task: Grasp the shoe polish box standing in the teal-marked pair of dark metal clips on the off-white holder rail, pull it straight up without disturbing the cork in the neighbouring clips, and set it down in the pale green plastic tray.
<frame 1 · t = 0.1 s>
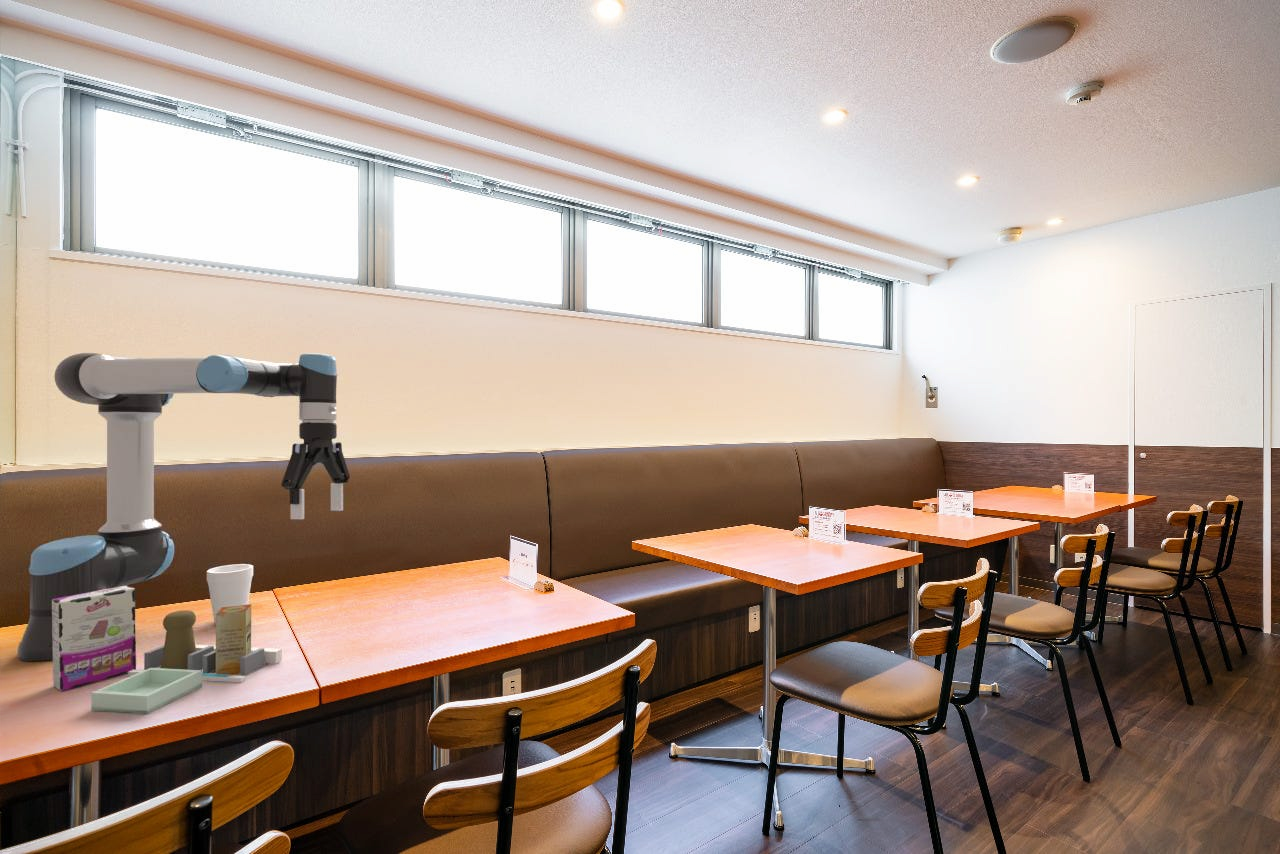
hand: (318, 514, 135), 28 cm above the table, fingers open, 13 cm apart
candy bar box: (94, 679, 113), on the table
foam cup: (230, 621, 147), on the table
cork: (179, 667, 118), resting in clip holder
shoe polish box: (233, 671, 117), resting in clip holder
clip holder: (206, 668, 118), on the table
tray: (149, 698, 105), on the table
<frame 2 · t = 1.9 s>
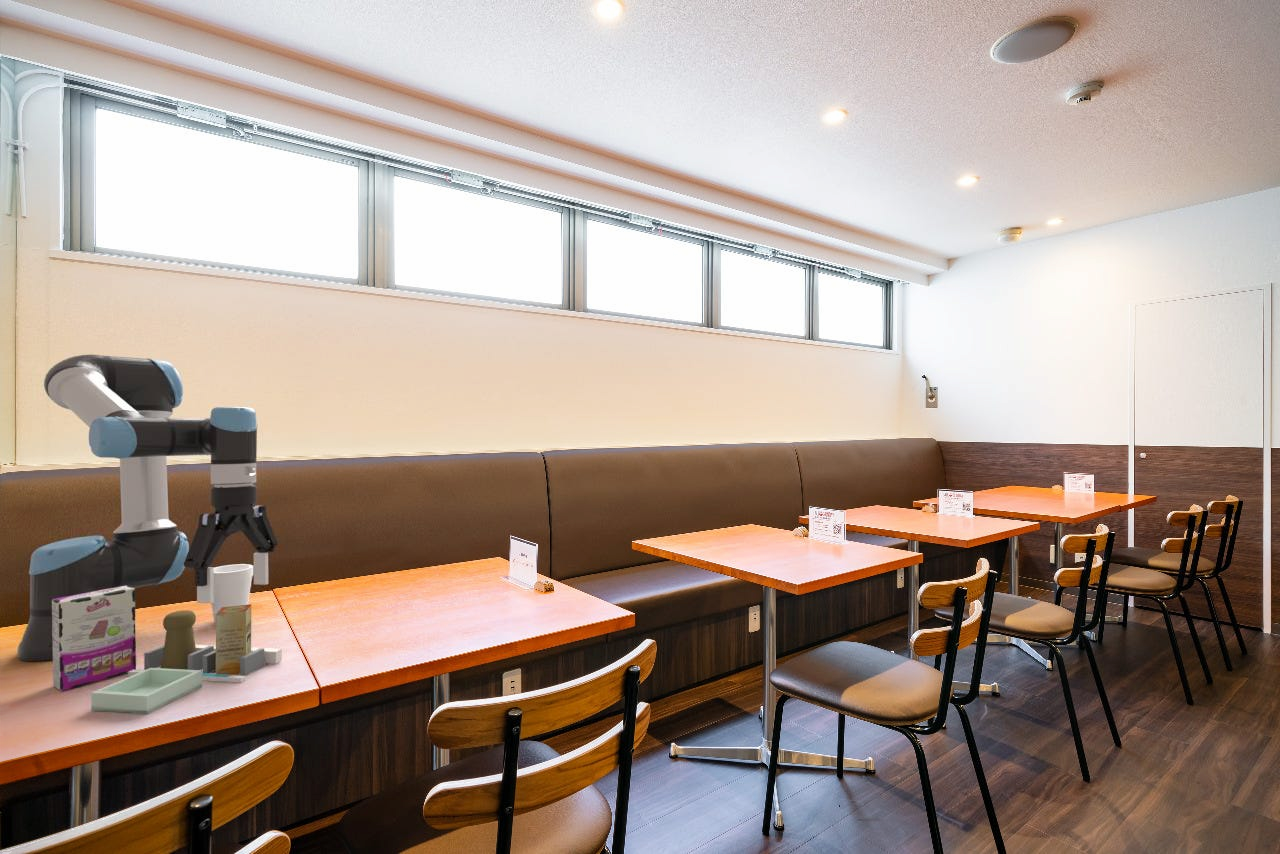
hand: (234, 593, 117), 15 cm above the table, fingers open, 13 cm apart
nothing on the table moved.
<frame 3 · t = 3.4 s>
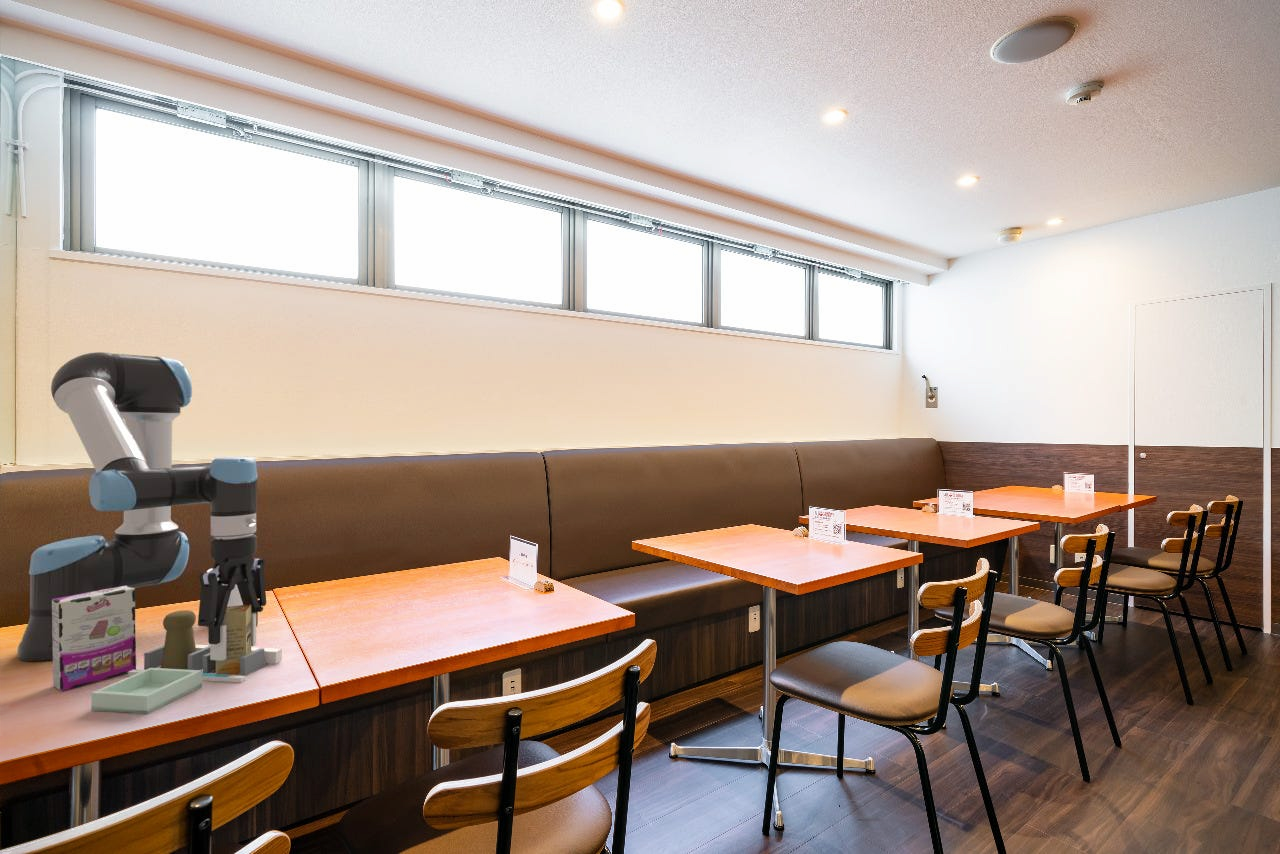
hand: (234, 651, 117), 4 cm above the table, fingers closed on shoe polish box, 7 cm apart
shoe polish box: (234, 670, 117), resting in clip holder, touching gripper
everything else where it was.
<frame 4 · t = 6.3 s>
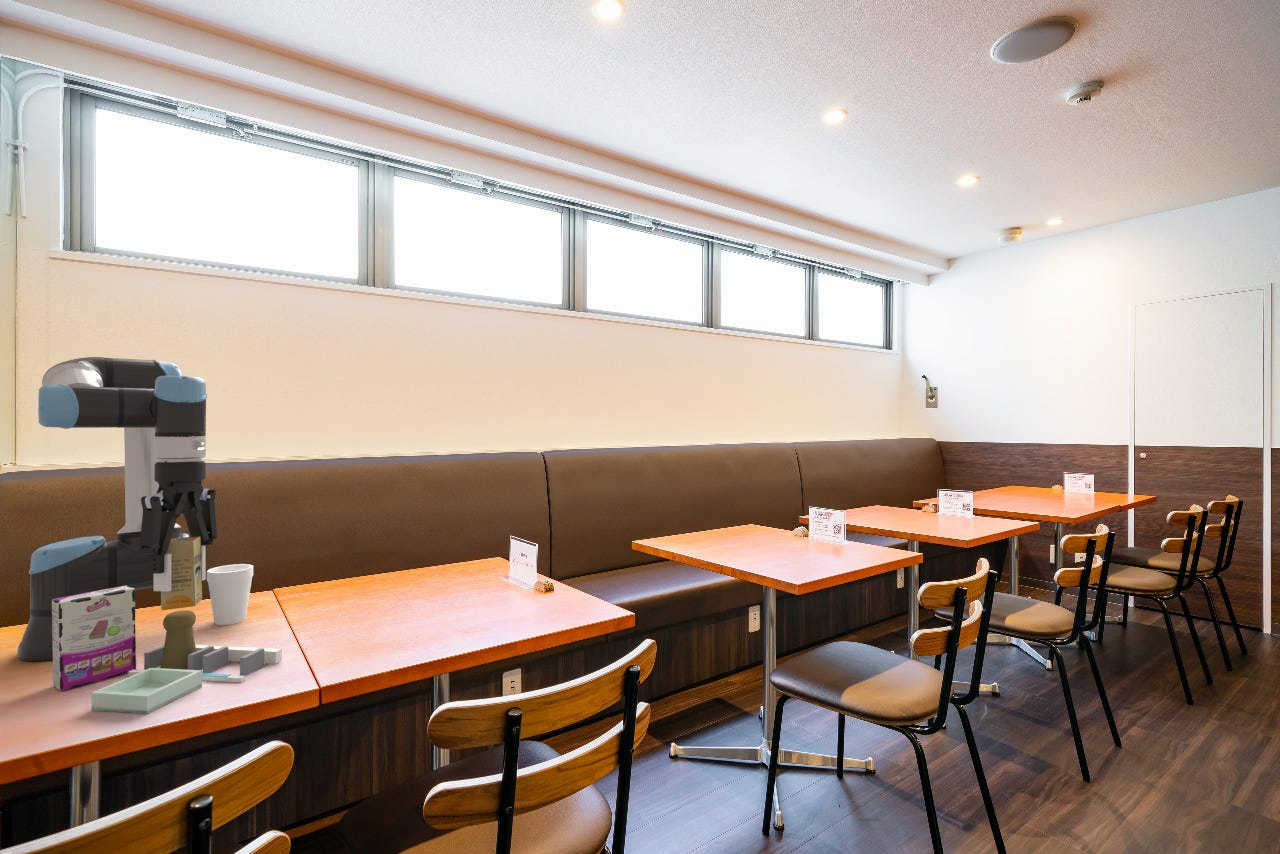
hand: (180, 584, 109), 19 cm above the table, fingers closed on shoe polish box, 7 cm apart
shoe polish box: (182, 605, 109), point 15 cm above the table, touching gripper
everything else where it was.
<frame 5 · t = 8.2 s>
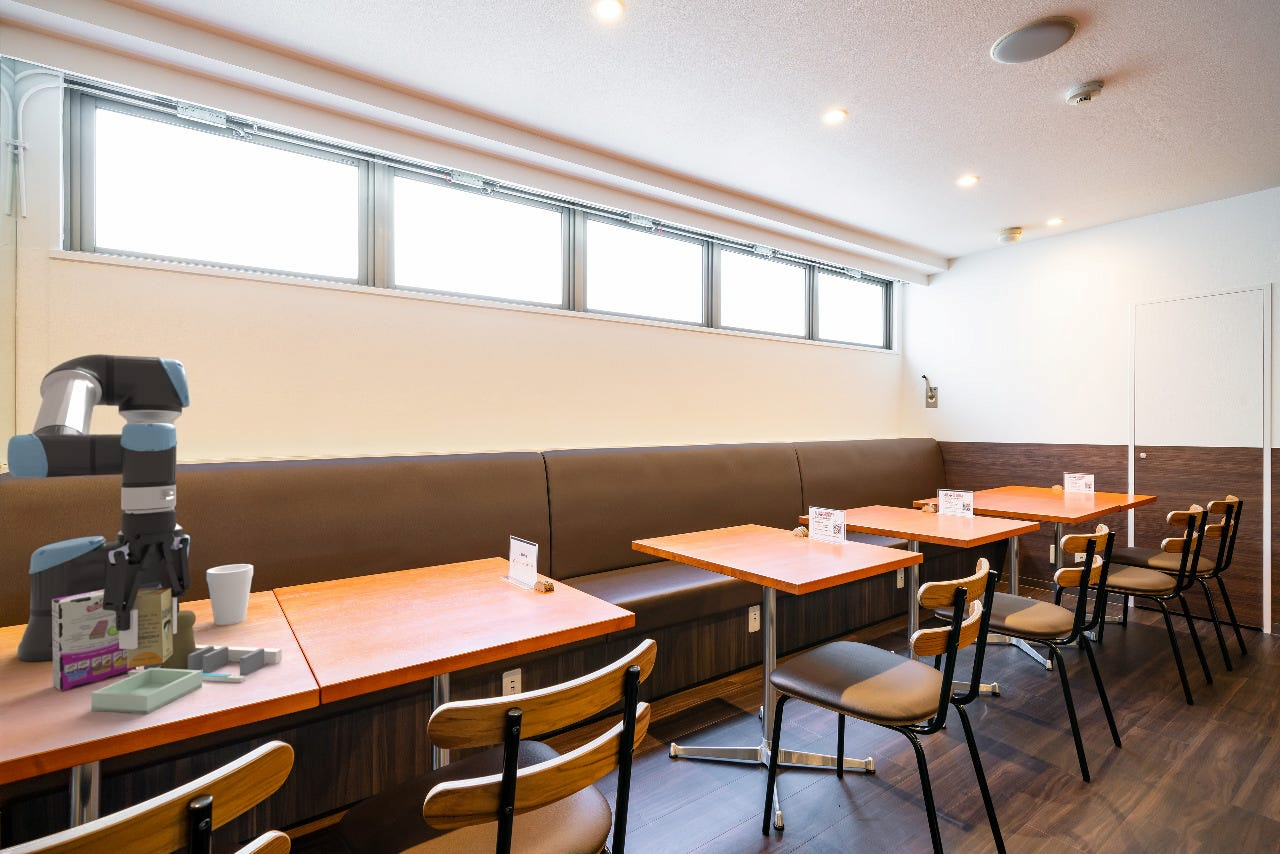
hand: (149, 640, 104), 10 cm above the table, fingers closed on shoe polish box, 7 cm apart
shoe polish box: (150, 661, 104), point 6 cm above the table, touching gripper
everything else where it was.
when the fingers open (5 cm above the table, at t = 9.5 s): shoe polish box drops 1 cm, resting on tray.
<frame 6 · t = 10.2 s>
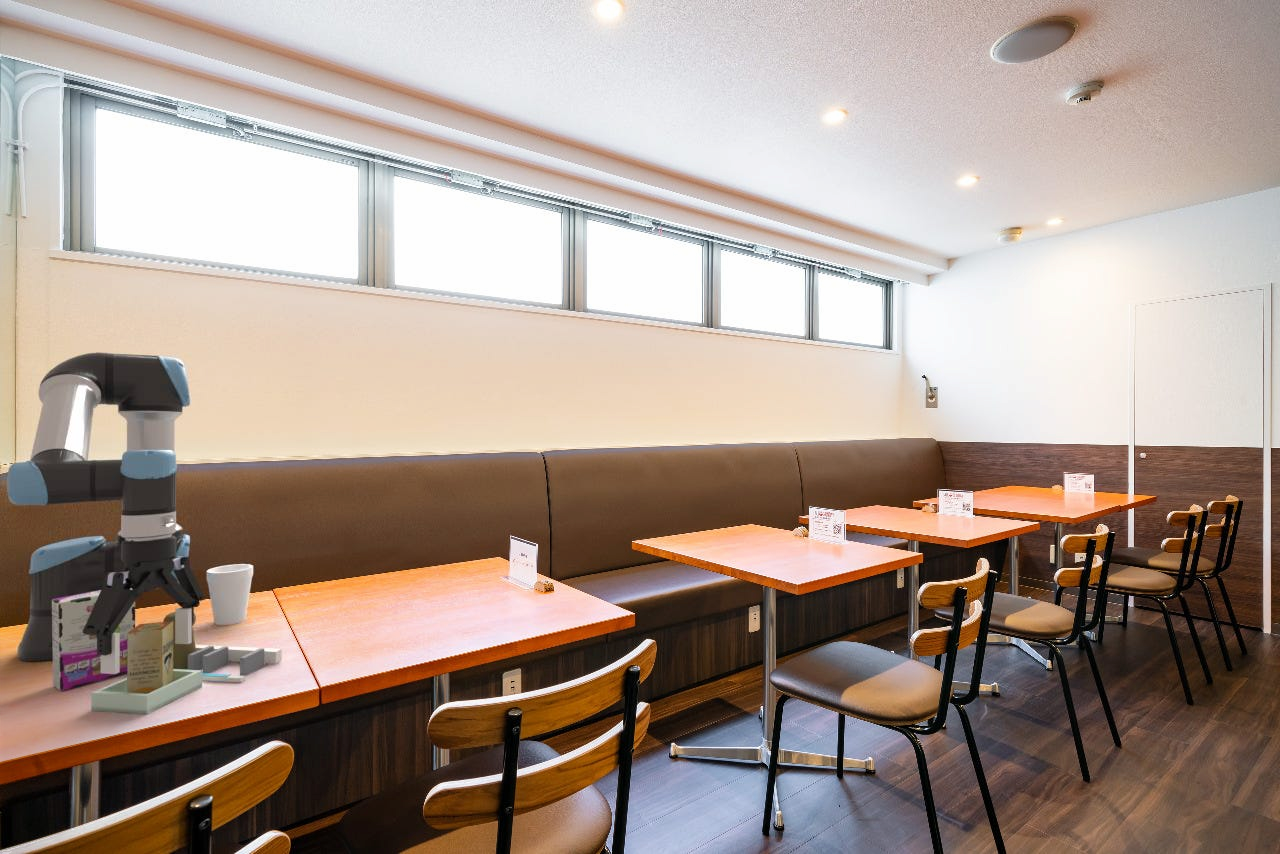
hand: (149, 657, 105), 7 cm above the table, fingers open, 13 cm apart
shoe polish box: (150, 695, 105), resting on tray
everything else where it was.
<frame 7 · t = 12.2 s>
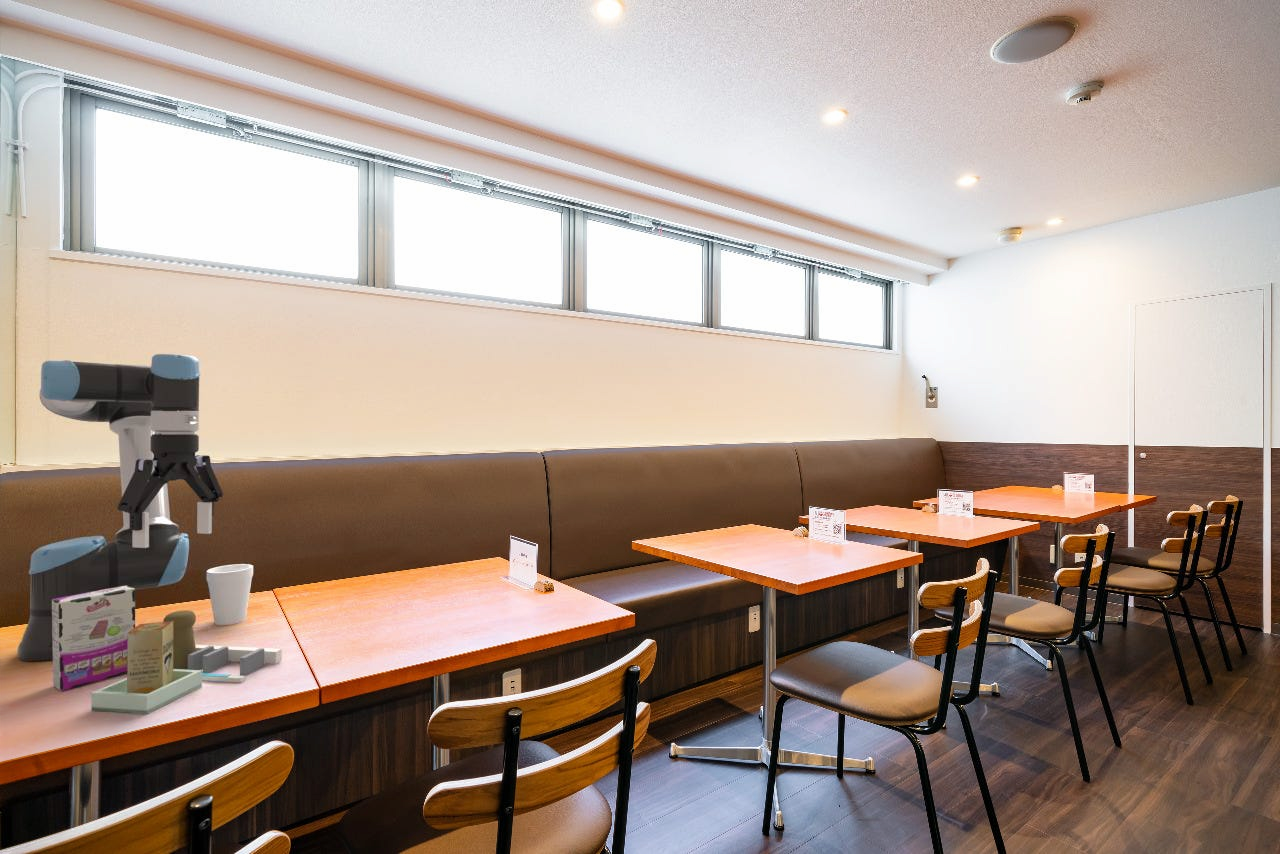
hand: (174, 540, 117), 26 cm above the table, fingers open, 13 cm apart
nothing on the table moved.
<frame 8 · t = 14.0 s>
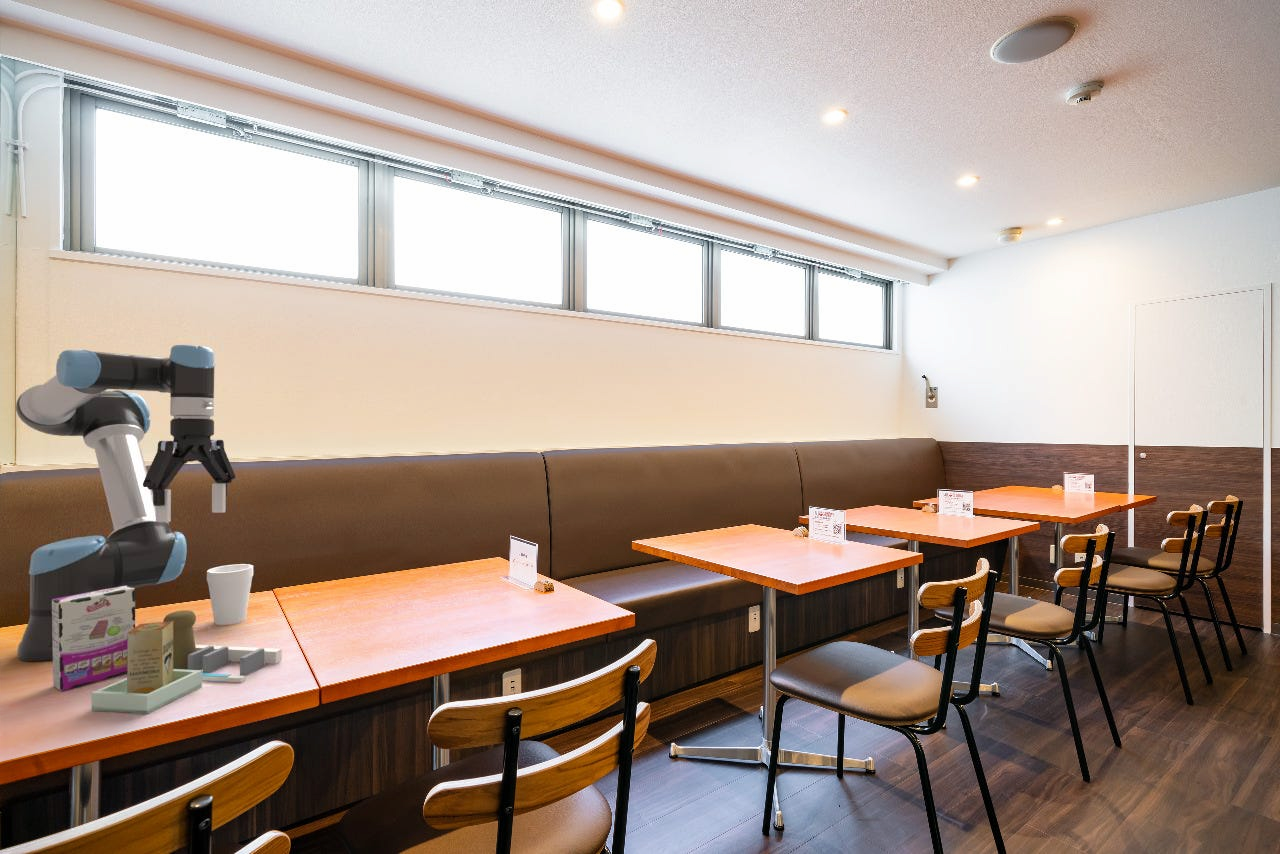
hand: (192, 517, 127), 29 cm above the table, fingers open, 13 cm apart
nothing on the table moved.
at the end: shoe polish box inside the target area on the tray (0.3 cm from its centre), point 0.4 cm above the tray's base; cork moved 0.2 cm from its start; the gripper is holding nothing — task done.
